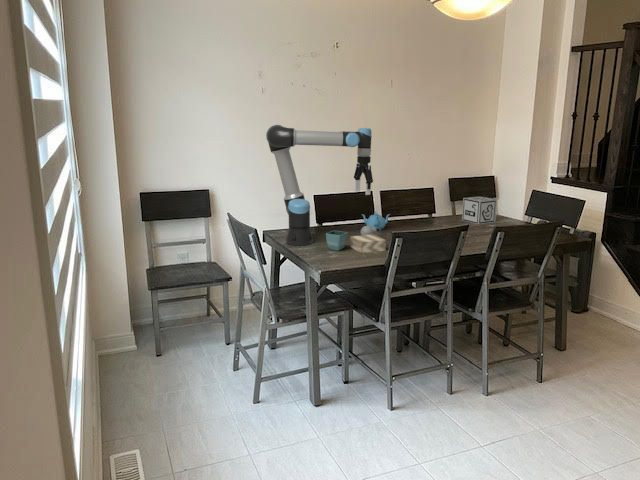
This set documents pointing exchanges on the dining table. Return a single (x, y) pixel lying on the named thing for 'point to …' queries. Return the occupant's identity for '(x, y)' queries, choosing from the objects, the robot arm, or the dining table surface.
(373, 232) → the toy rhinoceros
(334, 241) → the flower pot
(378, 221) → the teapot
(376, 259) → the dining table surface
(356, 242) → the birch block
